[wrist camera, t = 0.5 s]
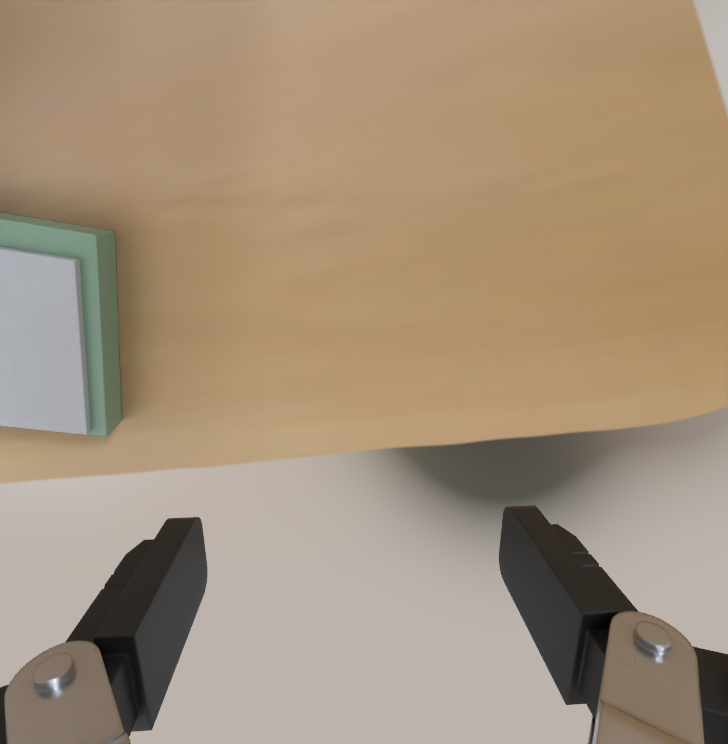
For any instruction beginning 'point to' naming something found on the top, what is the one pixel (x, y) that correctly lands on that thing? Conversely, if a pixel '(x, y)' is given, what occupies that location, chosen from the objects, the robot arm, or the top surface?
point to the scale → (58, 327)
